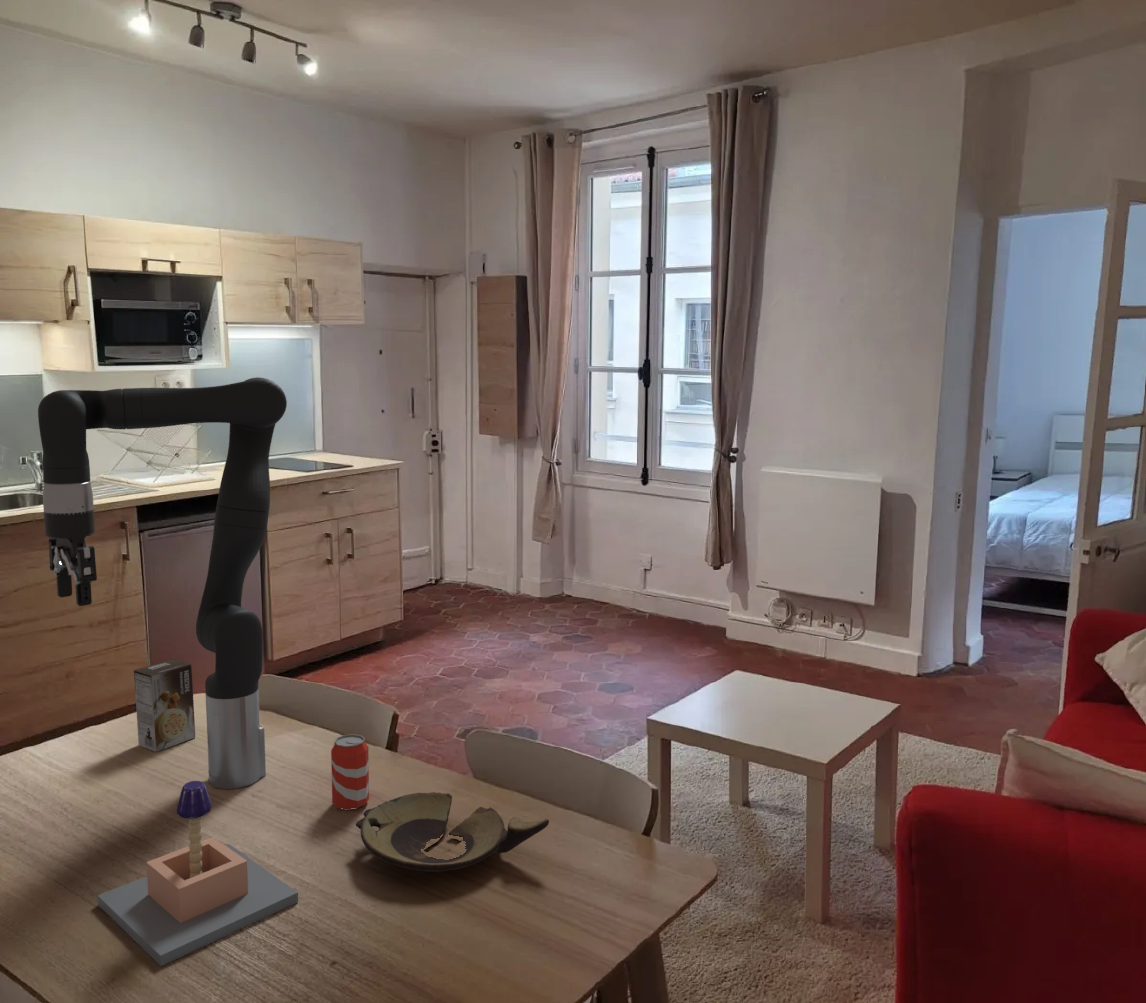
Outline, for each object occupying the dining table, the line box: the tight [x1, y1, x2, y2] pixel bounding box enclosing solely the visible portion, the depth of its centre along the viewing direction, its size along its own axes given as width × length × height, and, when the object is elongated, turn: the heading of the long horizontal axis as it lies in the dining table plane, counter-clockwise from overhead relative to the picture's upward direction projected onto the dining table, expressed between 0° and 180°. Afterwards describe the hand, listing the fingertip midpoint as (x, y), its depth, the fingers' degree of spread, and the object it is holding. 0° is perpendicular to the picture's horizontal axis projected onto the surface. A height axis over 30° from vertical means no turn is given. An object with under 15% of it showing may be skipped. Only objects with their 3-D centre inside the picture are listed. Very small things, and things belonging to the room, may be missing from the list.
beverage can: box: [330, 733, 370, 810], centre depth 164 cm, size 6×6×12 cm
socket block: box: [97, 836, 299, 967], centre depth 133 cm, size 20×20×6 cm
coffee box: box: [133, 659, 196, 753], centre depth 189 cm, size 9×6×16 cm
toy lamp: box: [176, 780, 213, 878], centre depth 132 cm, size 5×5×17 cm
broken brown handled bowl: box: [355, 791, 550, 872], centre depth 147 cm, size 22×30×8 cm
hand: (74, 600), depth 160 cm, fingers open, 8 cm apart
